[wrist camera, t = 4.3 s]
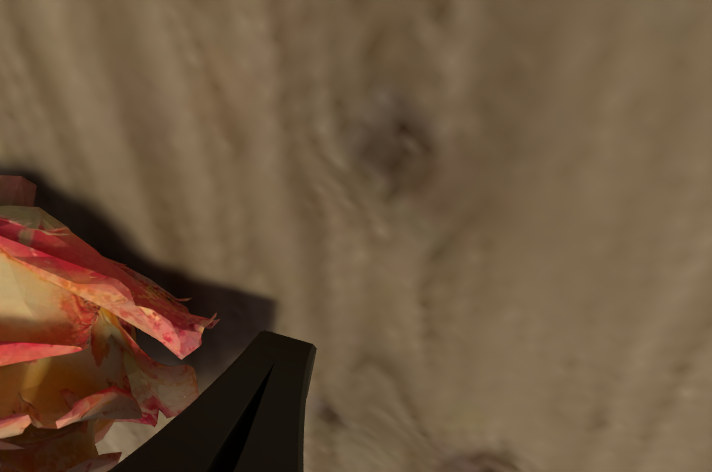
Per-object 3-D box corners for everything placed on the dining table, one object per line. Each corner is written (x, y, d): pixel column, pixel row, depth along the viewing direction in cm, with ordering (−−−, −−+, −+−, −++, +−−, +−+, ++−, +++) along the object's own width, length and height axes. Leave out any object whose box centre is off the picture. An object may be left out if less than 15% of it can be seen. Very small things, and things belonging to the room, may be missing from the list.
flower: (-199, 215, 11) (-368, 568, 8) (-313, -70, 6) (-1000, 698, 3) (163, 269, 17) (148, 489, 14) (283, 151, 11) (304, 476, 8)
